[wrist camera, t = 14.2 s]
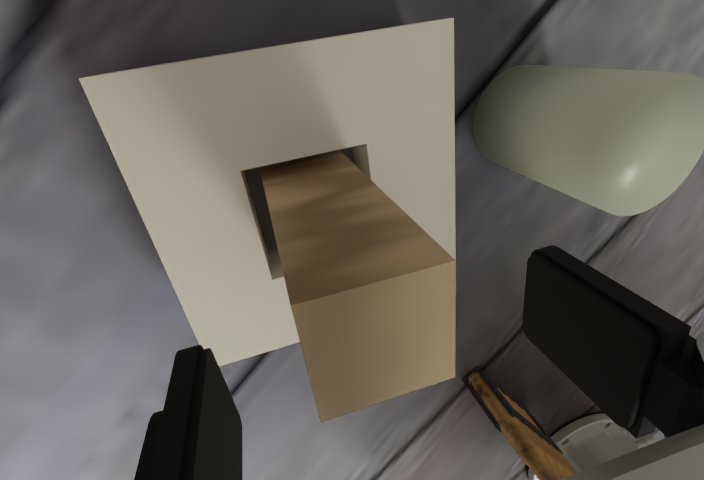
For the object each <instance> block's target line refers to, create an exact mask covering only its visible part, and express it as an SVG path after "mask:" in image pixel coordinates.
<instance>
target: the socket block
mask: <svg viewBox="0 0 704 480" xmlns="http://www.w3.org/2000/svg"><path fill="white" fill-rule="evenodd" d="M79 81H80V83H81V85H82V87H83V89H84V92H85V94H86V96H87V98H88V100H89V103H90V105H91V107H92V109H93V111H94V114H95V116H96V118H97V120H98V123H99V125H100V127H101V129H102V131H103V134H104V136H105V138H106V140H107V142H108V145H109V147H110V149H111V151H112V153H113V156H114V158H115V160H116V162H117V164H118V167H119V169H120V171H121V173H122V175H123V178H124V180H125V182H126V184H127V186H128V189H129V191H130V193H131V195H132V197H133V200H134V202H135V204H136V206H137V208H138V211H139V213H140V215H141V217H142V219H143V222H144V224H145V226H146V228H147V230H148V233H149V235H150V237H151V239H152V241H153V244H154V246H155V248H156V250H157V252H158V255H159V257H160V259H161V261H162V263H163V266H164V268H165V270H166V272H167V274H168V277H169V279H170V281H171V283H172V285H173V288H174V290H175V292H176V294H177V296H178V299H179V301H180V303H181V305H182V307H183V310H184V312H185V314H186V316H187V318H188V321H189V323H190V325H191V327H192V329H193V332H194V334H195V336H196V338H197V340H198V343H199V345H201V346H202V347H203V348H204V349H207V348H210V349H211V350H212V352H213V354H214V357H215V359H216V361H217V364H218V366H222V365H226V364H229V363H232V362H235V361H239V360H242V359H245V358H249V357H252V356H255V355H259V354H262V353H265V352H268V351H272V350H275V349H278V348H282V347H285V346H288V345H292V344H295V343H298V342H300V340H299V336H298V332H297V329H296V325H295V321H294V317H293V313H292V309H291V306H290V301H289V297H288V292H287V288H286V283H285V279H284V274H283V270H282V266H281V261H280V257H279V252H278V248H277V243H276V239H275V234H274V230H273V226H272V221H271V217H270V212H269V208H268V203H267V199H266V194H265V190H264V186H263V181H262V177H261V172H260V168H259V167H261V166H266V165H270V164H275V163H279V162H284V161H289V160H293V159H298V158H303V157H307V156H312V155H316V154H321V153H326V152H330V151H335V150H340V151H341V152H342V153H343V154H344V155H345V156H346V157H347V158H348V159H349V160H351V161H352V162H353V163H354V164H355V165H356V166H357V167H358V168H359V169H360V170H361V171H362V172H363V173H364V174H365V175H366V176H367V177H368V178H369V179H371V180H372V181H373V182H374V183H375V184H376V185H377V186H378V187H379V188H380V189H381V190H382V191H383V192H384V193H385V194H386V195H387V196H388V197H389V198H391V199H392V200H393V201H394V202H395V203H396V204H397V205H398V206H399V207H400V208H401V209H402V210H403V211H404V212H405V213H406V214H407V215H408V216H410V217H411V218H412V219H413V220H414V221H415V222H416V223H417V224H418V225H419V226H420V227H421V228H422V229H423V230H424V231H425V232H426V233H427V234H428V235H430V236H431V237H432V238H433V239H434V240H435V241H436V242H437V243H438V244H439V245H440V246H441V247H442V248H443V249H444V250H445V251H446V252H447V253H448V254H450V255H451V256H452V257H453V258H454V259H455V260H456V230H455V101H454V18H447V19H440V20H433V21H426V22H419V23H412V24H405V25H398V26H392V27H386V28H380V29H374V30H367V31H361V32H355V33H349V34H343V35H337V36H330V37H324V38H318V39H312V40H306V41H299V42H293V43H287V44H281V45H275V46H268V47H262V48H256V49H250V50H244V51H238V52H231V53H225V54H219V55H213V56H207V57H200V58H194V59H188V60H182V61H176V62H169V63H163V64H157V65H151V66H145V67H139V68H132V69H126V70H120V71H114V72H109V73H104V74H99V75H94V76H89V77H83V78H79Z"/></svg>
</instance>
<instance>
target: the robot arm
mask: <svg viewBox="0 0 704 480" xmlns="http://www.w3.org/2000/svg"><path fill="white" fill-rule="evenodd" d="M522 328H523V331H524V333H525V335H526V336H527V338H528V339H529V340H530V341H531V342H532V343H533V344H535V345H536V346H537V347H538V348H539V349H540V350H541V351H542V352H543V353H544V354H545V355H546V356H547V357H548V358H549V359H550V360H551V361H552V362H553V363H554V364H555V365H556V366H557V367H558V368H559V369H560V370H561V371H562V372H563V373H564V374H565V375H566V376H567V377H568V378H569V379H570V380H571V381H572V382H573V383H574V384H575V385H576V386H578V387H579V388H580V389H581V390H582V391H583V392H584V393H585V394H586V395H587V396H588V397H589V398H590V399H591V400H592V401H593V402H594V403H595V404H596V405H597V406H598V407H599V408H600V409H601V410H602V411H603V412H604V413H605V414H604V413H601V414H593V415H589V416H586V417H583V418H580V419H578V420H576V421H574V422H572V423H570V424H568V425H567V426H565V427H563V428H562V429H560V430H559V431H558V432H556V433H555V434H554V435H553V436H551V439H552V440H553V441H554V442H555V443H556V445H557V446H558V447H559V448H560V450H561V451H562V452H563V454H562V455H563V456H564V457H565V459H566V460H567V461H568V462H569V464H570V465H571V466H572V467H573V469H574V470H575V471H576V472H577V473H576V474H574V475H571V476H569V477H566V478H564V479H561V480H704V332H701V333H699V335H698V336H697V338H696V339H694V338H693V337H691V336H690V335H689V332H690V329H691V326H689V325H687V324H686V323H684V322H682V321H681V320H679V319H677V318H676V317H674V316H672V315H671V314H669V313H667V312H666V311H664V310H662V309H661V308H659V307H657V306H655V305H654V304H652V303H650V302H649V301H647V300H645V299H644V298H642V297H640V296H639V295H637V294H635V293H634V292H632V291H630V290H629V289H627V288H625V287H624V286H622V285H620V284H619V283H617V282H615V281H614V280H612V279H610V278H609V277H607V276H605V275H604V274H602V273H600V272H599V271H597V270H595V269H594V268H592V267H590V266H589V265H587V264H585V263H583V262H582V261H580V260H578V259H577V258H575V257H573V256H572V255H570V254H568V253H567V252H565V251H563V250H562V249H560V248H558V247H556V246H548V247H544V248H541V249H537V250H535V251H533V252H532V254H531V257H529V258H528V262H527V274H526V286H525V298H524V310H523V322H522ZM656 427H657V428H658V429H659V430H660V431H661V432H662V433H664V437H665V439H663V440H660V441H656V439H655V438H653V437H652V436H646V437H644V438H641V439H640V440H638V441H636V442H634V441H631V440H630V439H629V438H628V437H627V436H626V431H625V428H626V429H627V430H628V431H629V432H630V433H631V434H632V435H633V436H634V437H635V438H636V439H637V438H640V437H642V436H645V435H648V434H650V433H653V432H655V429H656ZM528 476H529V479H530V480H539V479H538V478H537V476H536V475H535V474H534V472H533V471H532V470H531V469H530V468H529V471H528ZM134 480H242V423H241V419H240V415H239V413H238V411H237V408H236V406H235V404H234V401H233V399H232V396H231V394H230V392H229V389H228V387H227V385H226V382H225V380H224V378H223V375H222V373H221V371H220V368H219V366H218V364H217V361H216V359H215V357H214V354H213V352H212V350H211V349H210V348H207V349H204V348H203V347H202V346H201V345H197V346H193V347H190V348H186V349H183V350H179V351H177V353H176V356H175V360H174V365H173V369H172V374H171V378H170V383H169V387H168V392H167V396H166V401H165V405H164V410H163V411H160V412H156V413H154V414H153V415H152V416H151V418H150V421H149V424H148V428H147V432H146V436H145V439H144V443H143V447H142V451H141V455H140V459H139V463H138V467H137V471H136V475H135V479H134Z"/></svg>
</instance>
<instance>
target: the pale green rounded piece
mask: <svg viewBox="0 0 704 480" xmlns="http://www.w3.org/2000/svg"><path fill="white" fill-rule="evenodd" d="M473 137H474V141H475V144H476V146H477V148H478V150H479V151H480V153H481V154H482V155H483V156H484V157H485V158H486V159H488V160H489V161H491V162H493V163H496V164H498V165H500V166H502V167H505V168H507V169H509V170H512V171H514V172H516V173H518V174H521V175H523V176H525V177H528V178H530V179H532V180H534V181H537V182H539V183H541V184H544V185H546V186H548V187H550V188H553V189H555V190H557V191H560V192H562V193H564V194H566V195H569V196H571V197H573V198H576V199H578V200H580V201H582V202H585V203H587V204H589V205H592V206H594V207H596V208H598V209H601V210H603V211H605V212H608V213H610V214H613V215H616V216H631V215H636V214H639V213H642V212H645V211H647V210H649V209H651V208H653V207H654V206H656V205H658V204H659V203H660V202H662V201H663V200H665V199H666V198H667V197H668V196H669V195H671V194H672V193H673V192H674V191H675V190H676V189H677V188H678V187H679V186H680V185H681V184H682V182H683V181H684V180H685V179H686V178H687V176H688V175H689V174H690V172H691V171H692V169H693V168H694V166H695V165H696V163H697V162H698V160H699V158H700V156H701V154H702V152H703V150H704V81H703V80H702V79H701V78H699V77H697V76H696V75H693V74H690V73H680V72H662V71H643V70H625V69H606V68H587V67H569V66H550V65H532V64H522V65H517V66H513V67H511V68H508V69H506V70H505V71H503V72H502V73H500V74H499V75H498V76H496V77H495V78H494V79H493V80H492V81H491V82H490V84H489V85H488V86H487V87H486V89H485V90H484V92H483V93H482V95H481V97H480V99H479V101H478V103H477V106H476V109H475V112H474V117H473Z"/></svg>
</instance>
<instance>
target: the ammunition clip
mask: <svg viewBox="0 0 704 480" xmlns="http://www.w3.org/2000/svg"><path fill="white" fill-rule="evenodd" d="M462 380H463V382H464V383H465V385H466V386H467V388H468V389H469V390H470V392H471V393H472V395H473V396H474V397H475V399H476V400H477V402H478V403H479V404H480V406H481V407H482V409H483V410H484V412H485V413H486V414H487V416H488V417H489V419H490V420H491V421H492V423H493V424H494V426H495V427H496V429H498V430H499V431H501V432H502V433H503V434H504V435H505V437H506V438H507V440H508V441H509V442H510V444H511V445H512V447H513V448H514V450H515V451H516V452H517V454H518V455H519V457H520V458H521V459H522V461H523V462H524V463H525V464H526V465H527V466H528V467H529V468H530V469H531V470H532V471H533V472H534V474H535V475H536V476H537V478H538V479H539V480H561V479H564V478H566V477H569V476H571V475H574V474H576V473H577V472H576V471H575V470H574V469H573V467H572V466H571V465H570V464H569V462H568V461H567V460H566V459H565V457H564V456H563V455H562V454H563V452H562V451H561V450H560V448H559V447H558V446H557V445H556V443H555V442H554V441H553V440H552V439H551V437H550V436H549V435H548V434H547V432H546V431H545V430H544V429H543V428H542V426H541V425H540V424H539V423H538V421H537V420H536V419H535V418H534V417H533V415H532V414H531V413H530V412H529V410H528V409H527V408H526V407H525V406H524V405H523V404H521V403H520V402H519V401H518V400H517V399H516V398H514V397H513V396H512V395H511V394H510V393H509V392H507V391H506V390H505V389H504V388H503V387H502V386H500V385H499V384H498V383H497V382H496V381H495V380H493V379H492V378H491V377H490V376H489V375H488V374H486V373H485V372H484V371H483V370H482V369H481V368H479V367H478V366H477V367H475V368H474V369H473V370H472V371H471V372H470V373H469V374H467V375H466V376H465V377H464V378H463V379H462Z"/></svg>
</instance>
